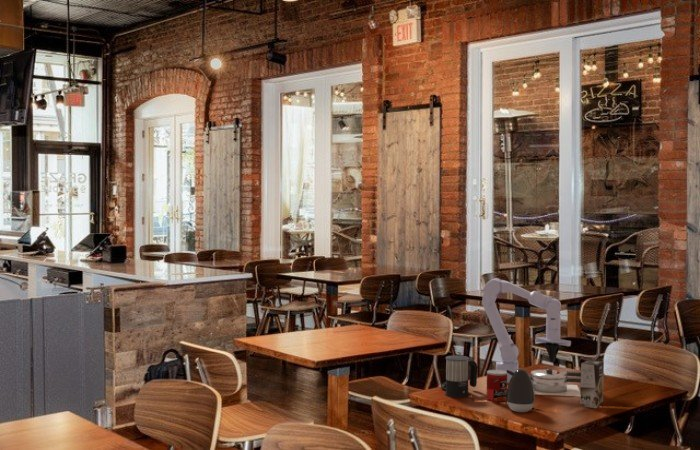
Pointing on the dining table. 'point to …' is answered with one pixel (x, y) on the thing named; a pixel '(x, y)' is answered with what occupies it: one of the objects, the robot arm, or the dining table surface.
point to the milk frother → (459, 376)
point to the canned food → (496, 385)
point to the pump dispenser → (520, 391)
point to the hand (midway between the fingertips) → (552, 361)
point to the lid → (553, 374)
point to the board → (571, 391)
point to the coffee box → (591, 383)
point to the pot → (552, 384)
